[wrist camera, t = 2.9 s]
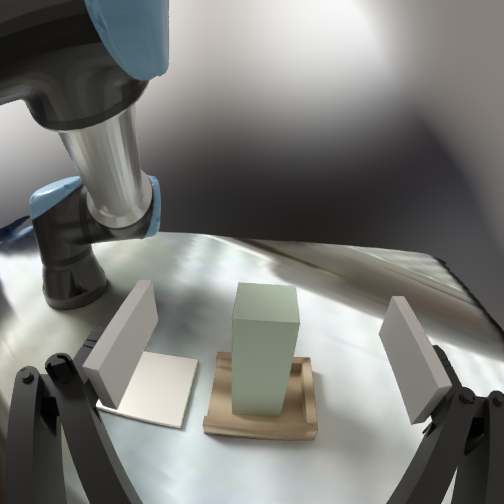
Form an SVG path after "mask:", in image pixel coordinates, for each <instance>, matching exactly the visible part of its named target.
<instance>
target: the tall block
mask: <svg viewBox="0 0 504 504" xmlns="http://www.w3.org/2000/svg"><path fill="white" fill-rule="evenodd" d="M299 325H300V319H299V310H298V302H297V293H296V286H284V285H269V284H254V283H240V282H239V283H238V288H237V294H236V299H235V304H234V310H233V315H232V414H240V415H254V416H272V417H280V414H281V410H282V406H283V401H284V397H285V393H286V388H287V384H288V379H289V375H290V370H291V365H292V360H293V356H294V351H295V346H296V341H297V335H298V330H299Z"/></svg>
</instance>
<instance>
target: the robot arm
mask: <svg viewBox="0 0 504 504" xmlns="http://www.w3.org/2000/svg"><path fill="white" fill-rule="evenodd" d="M168 65H169V0H0V105H3V104H6V103H9V102H13V101H16V100H24V101H25V103H26V105H27V107H28V108H29V111H30V113H31V115H32V117H33V118H34V120H35V121H36V122H37V123H38V124H39V125H40V126H42V127H43V128H45V129H48V130H51V131H55V132H58V134H59V135H60V138H61V140H62V142H63V144H64V146H65V148H66V150H67V152H68V154H69V156H70V158H71V160H72V162H73V164H74V166H75V168H76V169H77V172H78V174H79V175H80V176H76V177H70V178H66V179H63V180H60V181H57V182H54V183H52V184H50V185H47V186H45V187H43V188H41V189H39V190H38V191H36V192H35V193H34V194H33V195H32V196H31V198H30V211H31V220H32V224H33V228H34V233H35V237H36V241H37V245H38V249H39V253H40V257H41V260H42V264H43V293H44V296H45V299H46V301H47V303H48V304H49V305H50V306H52V307H54V308H57V309H74V308H78V307H82V306H84V305H87V304H89V303H91V302H93V301H94V300H96V299H97V298H98V297H100V296H101V295H102V293H103V292H104V291H105V289H106V286H107V281H106V276H105V272H104V270H103V269H102V267H101V266H100V264H99V263H98V261H97V259H96V257H95V255H94V253H93V251H92V247H91V244H92V243H100V242H109V241H118V240H128V239H137V238H139V239H144V238H145V237H151V236H154V235H155V234H157V232H158V230H159V226H160V213H161V199H160V187H159V182H158V180H157V178H156V177H153V176H148V175H146V174H145V173H144V172H143V171H142V170H141V168H140V159H139V149H138V138H137V125H136V111H135V103H136V102H137V101H138V100H139V98H140V97H141V96H142V95H143V93H144V91H145V90H146V88H147V86H148V84H149V81H150V80H151V79H153V78H154V77H156V76H161V75H163V74H164V73H166V71H167V69H168ZM83 183H84V184H83ZM157 323H158V315H157V309H156V303H155V297H154V290H153V283H152V281H149V280H139V281H138V282H137V284H136V285H135V287H134V288H133V289H132V291H131V292H130V294H129V295H128V297H127V298H126V300H125V301H124V302H123V304H122V305H121V307H120V308H119V310H118V311H117V313H116V314H115V316H114V317H113V319H112V320H111V322H110V323H109V325H108V326H107V327H103V326H98V327H97V328H96V329H94V330H93V331H92V332H91V333H90V335H89V336H88V338H87V340H86V341H85V342H84V344H83V346H82V347H81V348H80V350H79V351H78V353H77V354H76V356H75V357H74V359H73V360H72V359H71V357H70V356H69V355H67V354H65V353H57V354H54V355H52V356H51V357H50V358H48V359H47V361H46V363H45V369H46V371H47V373H48V374H39V372H38V370H37V369H36V368H35V367H33V366H27V367H24V368H22V369H20V371H19V372H18V373H17V375H16V378H15V383H14V389H13V394H12V400H11V407H10V414H9V423H8V433H7V445H6V503H7V504H67V500H66V493H65V485H64V475H63V463H62V446H61V422H62V426H63V430H64V433H65V437H66V440H67V443H68V447H69V450H70V453H71V456H72V459H73V462H74V465H75V467H76V470H77V473H78V476H79V478H80V481H81V483H82V486H83V488H84V491H85V493H86V495H87V498H88V500H89V502H90V504H143V503H142V501H141V500H140V498H139V496H138V494H137V493H136V491H135V489H134V487H133V486H132V484H131V482H130V480H129V478H128V476H127V474H126V472H125V470H124V468H123V466H122V464H121V462H120V460H119V458H118V456H117V454H116V452H115V449H114V447H113V445H112V443H111V440H110V438H109V436H108V433H107V431H106V428H105V426H104V424H103V421H102V418H101V416H100V413H99V411H98V408H97V406H96V404H97V402H98V400H100V402H101V404H102V405H103V406H105V407H108V408H112V409H115V410H118V407H119V405H120V403H121V400H122V398H123V396H124V394H125V391H126V389H127V387H128V385H129V382H130V380H131V378H132V376H133V373H134V371H135V369H136V367H137V365H138V363H139V360H140V358H141V356H142V354H143V352H144V350H145V348H146V345H147V343H148V341H149V339H150V337H151V335H152V333H153V331H154V329H155V327H156V325H157ZM379 336H380V338H381V341H382V343H383V346H384V348H385V351H386V354H387V356H388V359H389V361H390V364H391V367H392V370H393V372H394V375H395V378H396V381H397V383H398V386H399V389H400V392H401V395H402V398H403V401H404V404H405V407H406V410H407V413H408V416H409V419H410V422H411V425H412V424H417V423H423V422H425V421H426V420H427V418H428V417H429V416H430V415H431V418H432V422H431V423H430V424H429V425H428V426H427V427H426V429H425V430H424V431H423V432H422V433H423V434H424V433H425V432H426V433H425V435H424V437H423V439H422V442H421V444H420V446H419V448H418V450H417V452H416V454H415V456H414V458H413V459H412V461H411V463H410V465H409V467H408V469H407V470H406V472H405V474H404V476H403V478H402V479H401V481H400V483H399V484H398V486H397V488H396V489H395V491H394V492H393V494H392V496H391V497H390V499H389V500H388V502H387V503H386V504H441V503H442V501H443V498H444V496H445V494H446V492H447V490H448V488H449V485H450V483H451V481H452V478H453V476H454V473H455V471H456V468H457V474H456V480H455V485H454V491H453V496H452V501H451V504H504V394H503V393H502V392H500V391H492V392H491V393H490V394H489V396H488V397H478V396H476V395H475V393H474V392H473V391H472V390H471V389H469V388H466V387H462V385H461V383H460V381H459V379H458V377H457V375H456V373H455V371H454V369H453V367H452V366H451V363H450V362H449V360H448V358H447V356H446V354H445V352H444V351H443V350H442V349H441V348H440V347H439V346H438V345H432V344H431V343H430V341H429V339H428V337H427V335H426V334H425V332H424V330H423V328H422V326H421V325H420V323H419V321H418V319H417V318H416V316H415V314H414V313H413V311H412V309H411V308H410V306H409V304H408V303H407V301H406V299H405V298H404V296H392V299H391V301H390V304H389V307H388V310H387V313H386V316H385V319H384V321H383V324H382V327H381V329H380V332H379ZM457 466H458V467H457Z"/></svg>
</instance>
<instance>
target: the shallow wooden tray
mask: <svg viewBox="0 0 504 504" xmlns="http://www.w3.org/2000/svg"><path fill="white" fill-rule="evenodd" d="M203 428H204V433H205V434H211V435H219V436H228V437H239V438H251V439H270V440H314V437H315V435H316V433H317V431H318V428H317V417H316V407H315V397H314V388H313V379H312V370H311V361H310V358H305V357H293V360H292V365H291V370H290V375H289V379H288V384H287V388H286V393H285V397H284V401H283V406H282V410H281V414H280V417H272V416H254V415H240V414H232V353H224V352H218V353H217V369H216V374H215V379H214V384H213V389H212V394H211V399H210V404H209V409H208V414H207V416H204V421H203Z"/></svg>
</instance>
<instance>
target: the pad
mask: <svg viewBox="0 0 504 504" xmlns="http://www.w3.org/2000/svg"><path fill="white" fill-rule="evenodd" d="M197 364H198V359H192V358H184V357H177V356H171V355H164V354H158V353H152V352H146V351H144V352H143V354H142V356H141V358H140V360H139V363H138V365H137V367H136V369H135V371H134V373H133V376H132V378H131V380H130V382H129V385H128V387H127V389H126V391H125V394H124V396H123V398H122V400H121V403H120V405H119V407H118V410H115V409H112V408H108V407H105V406H103V405H102V404H101V402H100V400H98V402H97V404H96V406H97V408H98V409H101V410H104V411H108V412H111V413H115V414H118V415H122V416H126V417H129V418H133V419H137V420H141V421H146V422H150V423H155V424H159V425H164V426H169V427H175V428H180V429H181V426H182V422H183V418H184V414H185V410H186V406H187V403H188V399H189V395H190V391H191V387H192V383H193V380H194V376H195V372H196V368H197Z"/></svg>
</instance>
